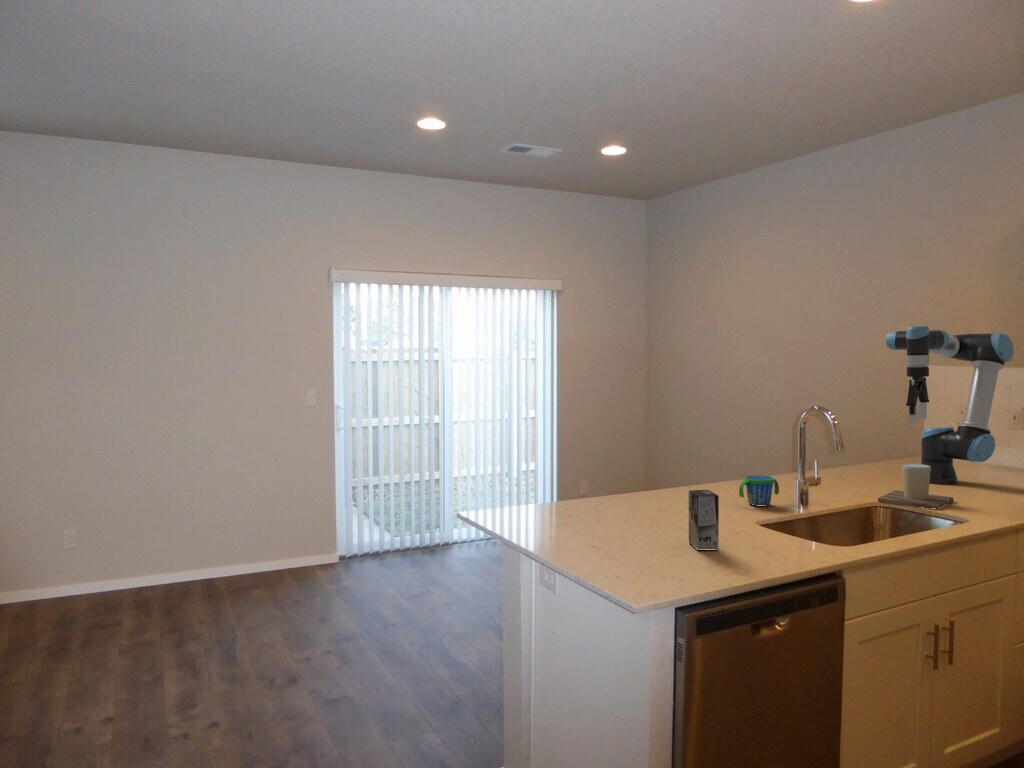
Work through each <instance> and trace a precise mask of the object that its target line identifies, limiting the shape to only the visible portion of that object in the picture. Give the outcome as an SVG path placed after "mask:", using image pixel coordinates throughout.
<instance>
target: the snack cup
mask: <svg viewBox="0 0 1024 768" xmlns="http://www.w3.org/2000/svg"><path fill="white" fill-rule="evenodd" d="M744 487H745V488H746V496H747V497H746V498H747V501H748V502H747V503H748V504H749V503H750V504H754V505H769V504H770V505H771V501H772V496H773V494H772V493H774V495H776V496H777V495H779V493H780V485H779V482H778V480H776V479H775V478H774V476H769V475H762V474H761V475H759V474H755V475H754V474H753V475H746V476H745V477H744V478H743V480H742V481H741V483H740V486H739V490H738V493H739V497H740V498H744V497H745V494H744ZM773 490H774V491H773ZM750 504H749V505H750ZM770 505H769V506H770Z"/></svg>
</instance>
